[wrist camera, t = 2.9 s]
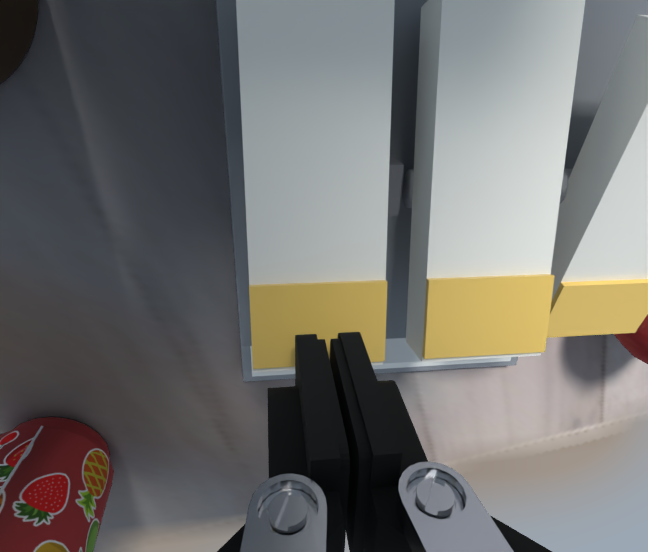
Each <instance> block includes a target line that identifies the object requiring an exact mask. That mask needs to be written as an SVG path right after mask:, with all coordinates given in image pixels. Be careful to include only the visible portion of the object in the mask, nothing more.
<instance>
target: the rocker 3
mask: <svg viewBox="0 0 648 552" xmlns="http://www.w3.org/2000/svg"><path fill="white" fill-rule="evenodd" d="M551 274H552V275H554V276H555V278H554V285H553V293H552V301H551V309H550V316H549V324H548V332H547V338H548V337H566V336H584V335H603V334H621V333H635V332H636V331H637V329H638V328H639V326H640V325H641V323H642V322H643V320H644V319H645V317H646V316H647V314H648V15H638V16H637V18H636V20H635V23H634V25H633V28H632V30H631V32H630V35H629V37H628V39H627V42H626V44H625V46H624V49H623V51H622V54H621V56H620V58H619V61H618V63H617V65H616V68H615V70H614V73H613V75H612V77H611V80H610V82H609V84H608V87H607V89H606V92H605V94H604V96H603V99H602V101H601V103H600V106H599V108H598V110H597V113H596V115H595V118H594V120H593V122H592V125H591V127H590V129H589V132H588V134H587V137H586V139H585V141H584V144H583V146H582V148H581V151H580V153H579V155H578V158H577V160H576V163H575V165H574V167H573V169H564V172H563V180H562V188H561V196H560V204H559V212H558V219H557V227H556V235H555V243H554V251H553V259H552V267H551Z"/></svg>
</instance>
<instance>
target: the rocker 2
mask: <svg viewBox="0 0 648 552" xmlns="http://www.w3.org/2000/svg"><path fill="white" fill-rule="evenodd" d="M584 8H585V0H428V1H427V2H426V3H425V4H424V5H423V6H422V7H421V21H420V43H419V64H418V86H417V108H416V130H415V152H414V169H409V170H408V171H407V172H406V174H405V178H404V183H403V198H404V203H405V205H406V207H407V208H412V217H411V239H410V261H409V283H408V305H407V327H406V343H407V344H408V345H409V346H410V348H411V349H412V350H413V352H414V353H415V354H416V355H417V357H418V358H419V359H420V361H421V362H436V361H453V360H470V359H487V358H504V357H521V356H537V355H540V353H541V352H545V347H546V339H547V332H548V324H549V316H550V309H551V301H552V293H553V285H554V278H555V276H554V275H552V274H551V267H552V259H553V251H554V243H555V235H556V227H557V219H558V212H559V204H560V196H561V188H562V180H563V172H564V165H565V157H566V149H567V141H568V133H569V125H570V117H571V110H572V102H573V94H574V86H575V78H576V70H577V63H578V55H579V47H580V39H581V31H582V23H583V15H584Z"/></svg>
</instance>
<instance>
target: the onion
mask: <svg viewBox="0 0 648 552" xmlns="http://www.w3.org/2000/svg"><path fill="white" fill-rule="evenodd" d="M614 335H615V336H616V338H617V339H618V340H619V341H620V342H621V344H622V345H623V346H624V347H625V348H626V349H627V350H628V351H629V352H630V353H631V354H632V355H633V356H634V357H636V358H638V359H640V360H641V361H643V362H645V363H647V364H648V314H647V316H646V317H645V319H644V320H643V322H642V323H641V325H640V326H639V328H638V329H637V331H636V332H635V333H621V334H614Z"/></svg>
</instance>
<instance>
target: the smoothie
mask: <svg viewBox="0 0 648 552" xmlns="http://www.w3.org/2000/svg"><path fill="white" fill-rule="evenodd" d="M113 473H114V471H113V467H112V464H111V461H110V453H109V449H108V446H107V443H106V442H105V441H104V440H103V438H102V437H101V436H100V435H99V434H98V433H97V432H96V431H94V430H93V429H91V428H90V427H88V426H87V425H85V424H82V423H79V422H77V421H74V420H71V419H65V418H58V417H45V418H35V419H32V420H30V421H27V422H24V423H21V424H20V425H18V426H17V427H16V428H14V429H13V430H12V431H9V432H7V433H4V434H1V435H0V552H93V550H94V546H95V543H96V539H97V536H98V532H99V528H100V525H101V521H102V517H103V514H104V510H105V507H106V503H107V499H108V496H109V492H110V489H111V485H112V480H113Z"/></svg>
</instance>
